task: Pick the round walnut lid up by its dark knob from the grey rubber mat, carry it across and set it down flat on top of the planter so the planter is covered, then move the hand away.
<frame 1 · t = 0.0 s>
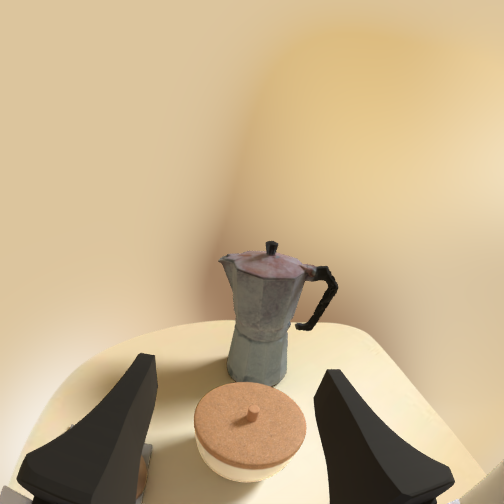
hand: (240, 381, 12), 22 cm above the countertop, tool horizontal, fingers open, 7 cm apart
moka pot: (258, 370, 43), on the countertop
lidded jar: (241, 457, 28), on the countertop
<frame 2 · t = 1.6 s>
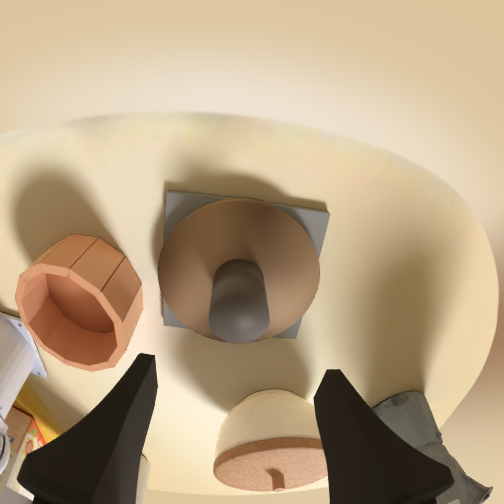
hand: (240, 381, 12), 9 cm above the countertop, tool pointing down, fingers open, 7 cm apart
lid: (238, 275, 20), resting on mat
moka pot: (391, 413, 30), on the countertop
cracker box: (29, 427, 32), on the countertop
cylinder vase: (110, 451, 33), on the countertop
mat: (238, 271, 20), on the countertop
planter: (90, 287, 20), on the countertop
lidded jar: (270, 405, 27), on the countertop
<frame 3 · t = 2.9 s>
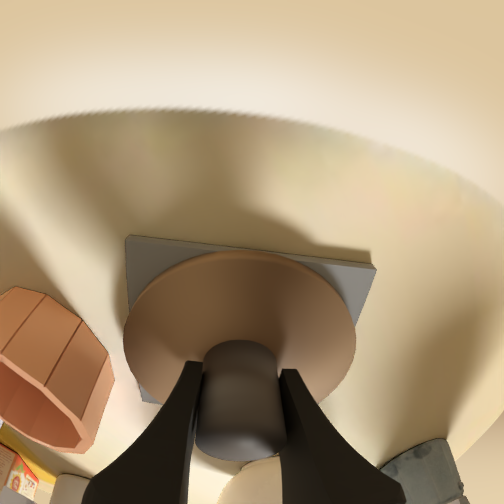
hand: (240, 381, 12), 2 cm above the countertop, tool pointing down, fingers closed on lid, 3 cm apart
lid: (239, 353, 13), resting on mat, touching gripper
moka pot: (409, 459, 23), on the countertop
cracker box: (15, 459, 25), on the countertop
cylinder vase: (100, 490, 26), on the countertop
mat: (239, 346, 14), on the countertop
planter: (48, 351, 14), on the countertop
lidded jar: (276, 467, 21), on the countertop
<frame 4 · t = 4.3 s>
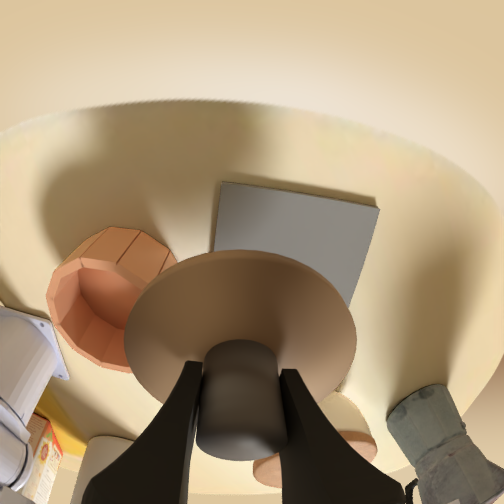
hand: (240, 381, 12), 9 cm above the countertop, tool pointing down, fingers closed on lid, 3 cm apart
lid: (240, 353, 13), point 8 cm above the countertop, touching gripper
moka pot: (415, 407, 30), on the countertop
cracker box: (42, 430, 32), on the countertop
cylinder vase: (130, 453, 33), on the countertop
mat: (289, 266, 20), on the countertop
planter: (127, 284, 20), on the countertop
lidded jar: (304, 401, 27), on the countertop
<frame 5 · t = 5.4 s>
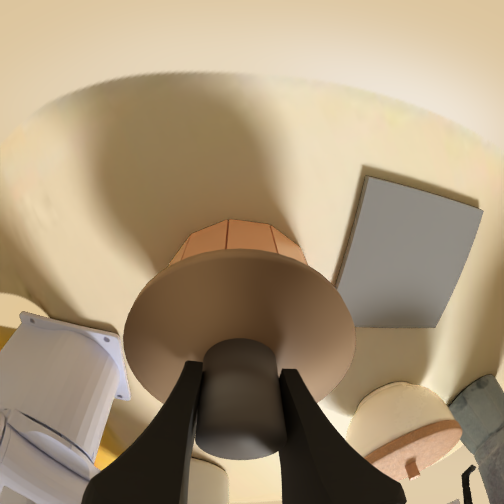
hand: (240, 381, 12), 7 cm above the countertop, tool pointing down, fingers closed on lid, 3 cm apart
lid: (239, 352, 13), point 6 cm above the countertop, touching gripper
moka pot: (468, 398, 28), on the countertop
cylinder vase: (181, 469, 31), on the countertop
mat: (409, 263, 18), on the countertop
planter: (239, 287, 18), on the countertop
lidded jar: (384, 399, 25), on the countertop
when the fingers open (7 cm above the countertop, at t = 5.8 s): lid drops 1 cm, resting on planter.
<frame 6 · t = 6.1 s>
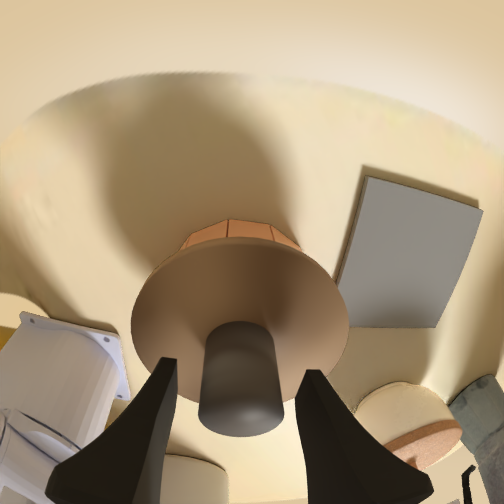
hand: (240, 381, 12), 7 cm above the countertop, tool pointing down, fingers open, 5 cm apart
lid: (239, 336, 14), point 4 cm above the countertop, touching planter
moka pot: (468, 398, 28), on the countertop
cylinder vase: (181, 469, 31), on the countertop
mat: (409, 263, 18), on the countertop
planter: (238, 287, 18), on the countertop, touching lid
lidded jar: (384, 399, 25), on the countertop
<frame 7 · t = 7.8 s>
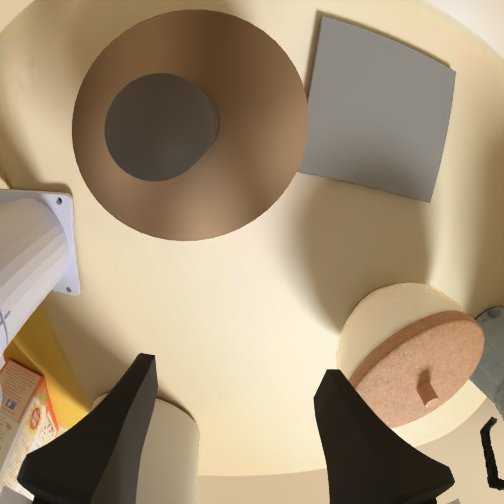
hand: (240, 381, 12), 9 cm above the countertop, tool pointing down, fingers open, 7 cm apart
lid: (184, 123, 12), point 4 cm above the countertop, touching planter
moka pot: (478, 338, 26), on the countertop
cracker box: (34, 396, 27), on the countertop
cylinder vase: (145, 420, 28), on the countertop
mat: (383, 111, 16), on the countertop
lidded jar: (381, 315, 23), on the countertop
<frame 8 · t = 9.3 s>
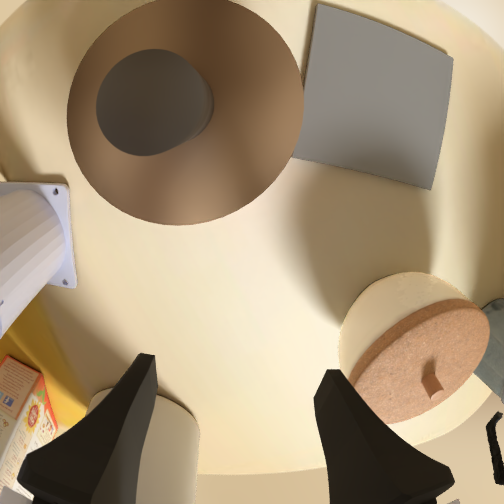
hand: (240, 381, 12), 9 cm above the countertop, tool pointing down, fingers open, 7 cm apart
lid: (178, 106, 12), point 4 cm above the countertop, touching planter
moka pot: (483, 332, 25), on the countertop
cracker box: (33, 393, 27), on the countertop
cylinder vase: (145, 417, 28), on the countertop
mat: (381, 97, 15), on the countertop
lidded jar: (384, 307, 22), on the countertop
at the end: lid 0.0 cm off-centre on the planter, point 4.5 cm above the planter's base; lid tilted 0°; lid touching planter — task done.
